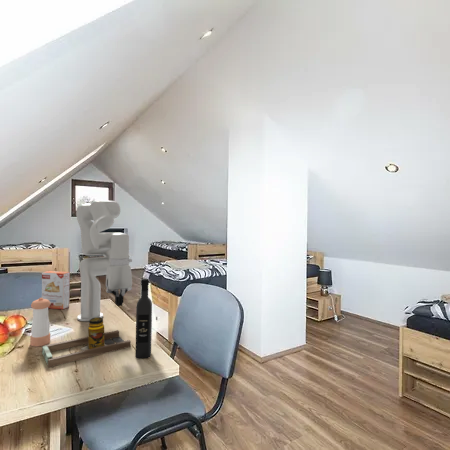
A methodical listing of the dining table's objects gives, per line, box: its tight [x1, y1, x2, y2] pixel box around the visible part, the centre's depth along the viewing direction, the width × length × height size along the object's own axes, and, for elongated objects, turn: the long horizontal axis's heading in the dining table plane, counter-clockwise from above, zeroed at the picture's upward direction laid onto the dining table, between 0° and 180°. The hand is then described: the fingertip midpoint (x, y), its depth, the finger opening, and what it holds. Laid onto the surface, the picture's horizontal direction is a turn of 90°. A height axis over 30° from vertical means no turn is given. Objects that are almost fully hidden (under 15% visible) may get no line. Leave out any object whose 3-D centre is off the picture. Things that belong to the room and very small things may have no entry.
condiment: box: [80, 317, 106, 351], centre depth 127 cm, size 7×8×12 cm
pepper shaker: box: [29, 297, 51, 347], centre depth 130 cm, size 7×7×19 cm
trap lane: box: [41, 329, 132, 368], centre depth 125 cm, size 15×30×3 cm, turn 129°
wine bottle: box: [134, 278, 153, 359], centre depth 121 cm, size 6×6×30 cm
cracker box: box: [41, 270, 71, 310], centre depth 180 cm, size 14×6×21 cm, turn 81°
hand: (119, 305), depth 132 cm, fingers closed
